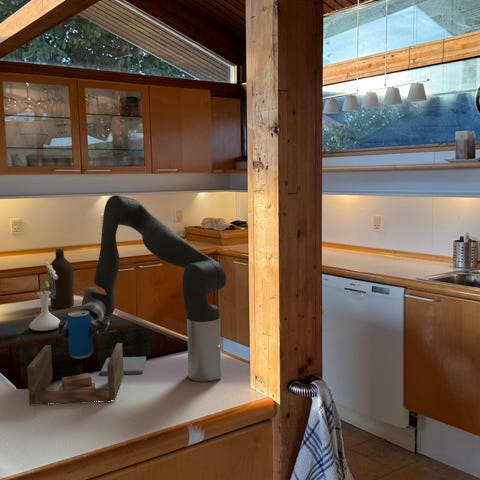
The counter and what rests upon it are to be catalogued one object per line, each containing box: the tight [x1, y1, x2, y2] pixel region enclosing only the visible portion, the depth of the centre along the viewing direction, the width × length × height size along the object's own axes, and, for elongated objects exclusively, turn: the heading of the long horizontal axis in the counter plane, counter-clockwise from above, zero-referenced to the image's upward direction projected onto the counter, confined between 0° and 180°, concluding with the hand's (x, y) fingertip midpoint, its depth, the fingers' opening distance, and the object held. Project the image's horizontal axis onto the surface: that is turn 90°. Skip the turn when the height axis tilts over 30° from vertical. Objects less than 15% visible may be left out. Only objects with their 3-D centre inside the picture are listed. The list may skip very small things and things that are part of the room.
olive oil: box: [47, 247, 75, 310], centre depth 253 cm, size 11×11×25 cm
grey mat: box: [100, 356, 147, 376], centre depth 178 cm, size 12×12×1 cm
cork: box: [84, 286, 99, 295], centre depth 241 cm, size 6×6×11 cm
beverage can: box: [66, 310, 94, 359], centre depth 163 cm, size 6×6×12 cm
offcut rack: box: [26, 342, 125, 406], centre depth 160 cm, size 22×18×10 cm
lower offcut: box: [57, 382, 96, 391], centre depth 159 cm, size 9×4×2 cm, turn 99°
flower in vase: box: [29, 261, 61, 332], centre depth 219 cm, size 13×11×25 cm
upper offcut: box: [61, 372, 93, 390], centre depth 158 cm, size 7×4×2 cm, turn 118°
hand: (78, 333), depth 160 cm, fingers closed on beverage can, 6 cm apart
